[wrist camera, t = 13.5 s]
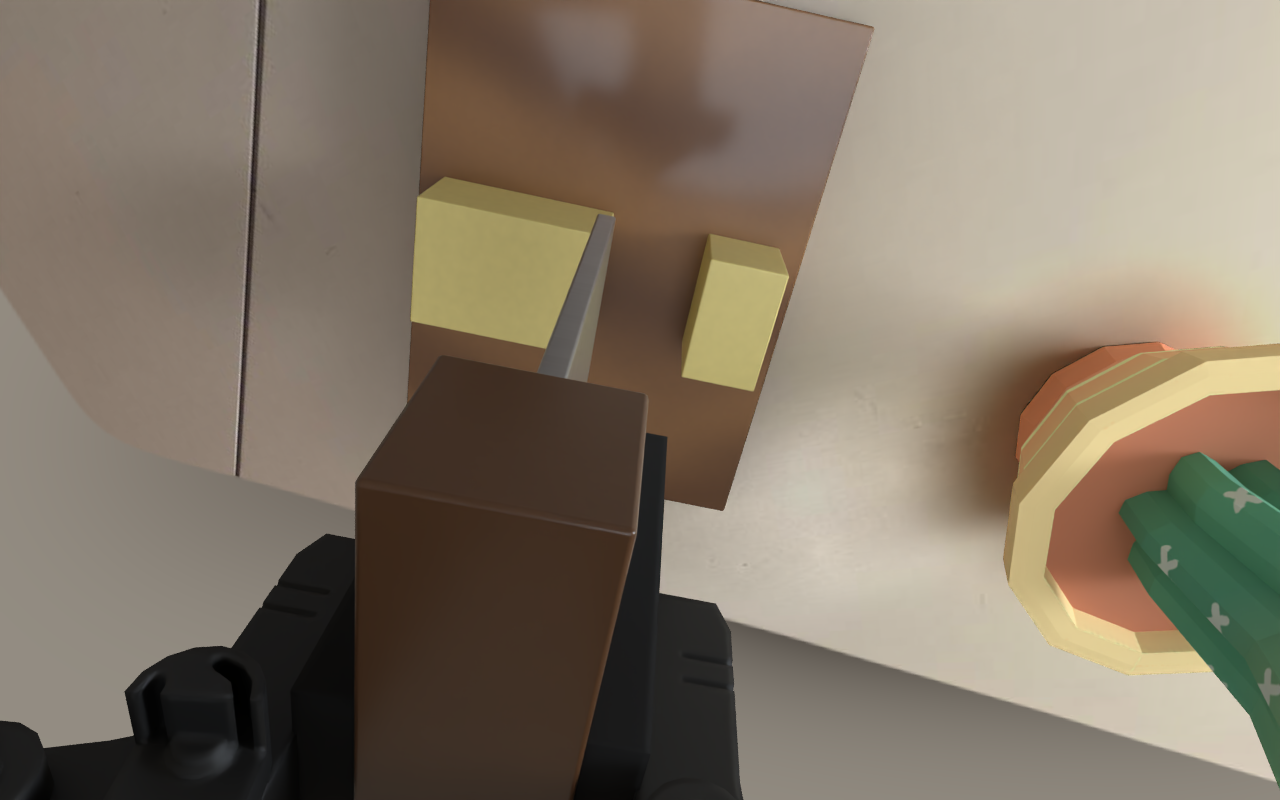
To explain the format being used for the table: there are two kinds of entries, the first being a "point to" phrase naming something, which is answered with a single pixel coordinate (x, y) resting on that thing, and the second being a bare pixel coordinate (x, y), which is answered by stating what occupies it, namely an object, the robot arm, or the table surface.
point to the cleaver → (495, 568)
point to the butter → (495, 260)
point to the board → (644, 171)
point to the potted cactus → (1157, 517)
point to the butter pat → (733, 312)
